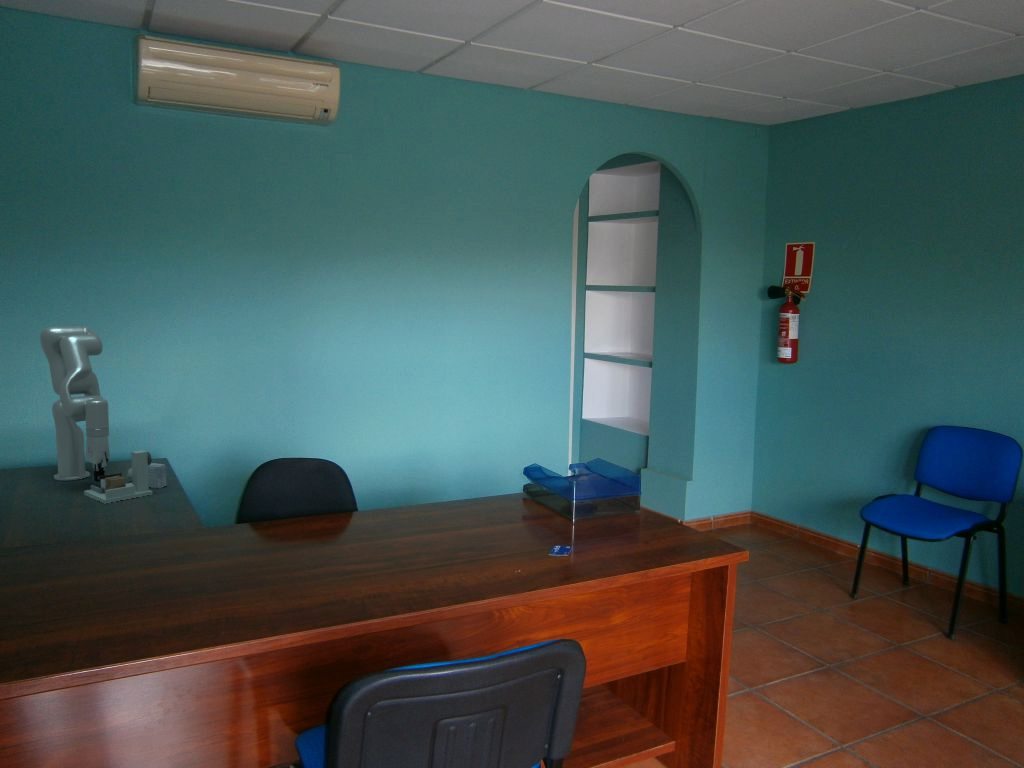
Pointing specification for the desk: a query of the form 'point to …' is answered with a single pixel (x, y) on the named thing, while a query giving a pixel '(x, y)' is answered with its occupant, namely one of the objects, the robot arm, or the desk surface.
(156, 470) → the medicine box
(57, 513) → the desk surface
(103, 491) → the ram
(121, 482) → the block
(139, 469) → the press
